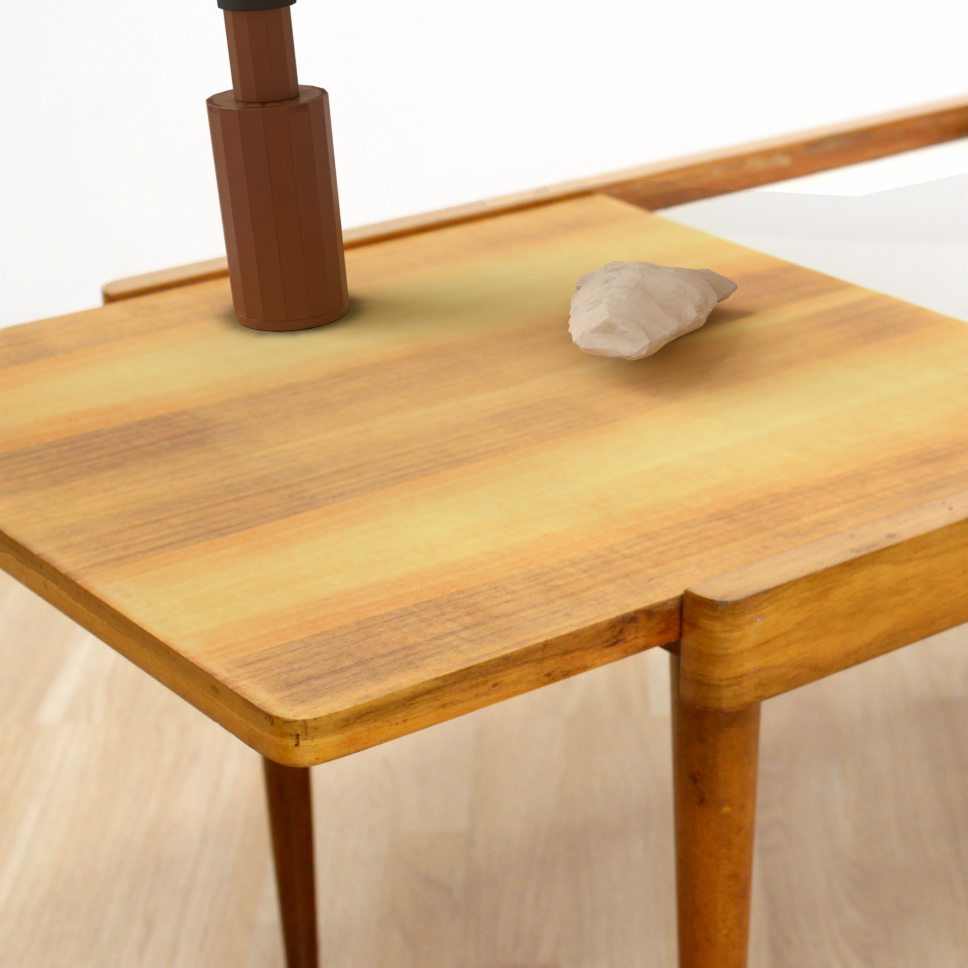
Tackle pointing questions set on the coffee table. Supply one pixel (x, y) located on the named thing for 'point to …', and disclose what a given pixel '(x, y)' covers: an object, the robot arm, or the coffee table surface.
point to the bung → (253, 4)
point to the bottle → (276, 181)
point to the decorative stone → (641, 307)
